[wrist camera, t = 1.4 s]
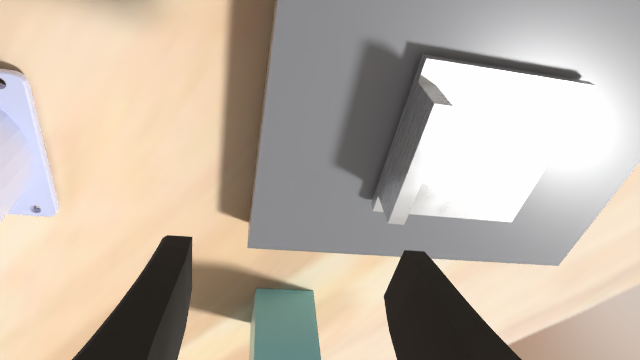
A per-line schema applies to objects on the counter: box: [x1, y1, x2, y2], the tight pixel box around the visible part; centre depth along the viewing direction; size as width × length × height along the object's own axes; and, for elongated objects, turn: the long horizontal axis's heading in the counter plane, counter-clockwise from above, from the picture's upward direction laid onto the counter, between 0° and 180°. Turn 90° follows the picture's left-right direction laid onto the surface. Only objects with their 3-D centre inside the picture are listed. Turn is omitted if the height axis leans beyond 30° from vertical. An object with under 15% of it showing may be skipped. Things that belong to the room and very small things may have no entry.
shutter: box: [371, 54, 597, 225], centre depth 18 cm, size 8×8×2 cm
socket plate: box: [248, 0, 640, 266], centre depth 20 cm, size 20×16×2 cm
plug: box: [249, 288, 321, 360], centre depth 26 cm, size 4×4×7 cm
